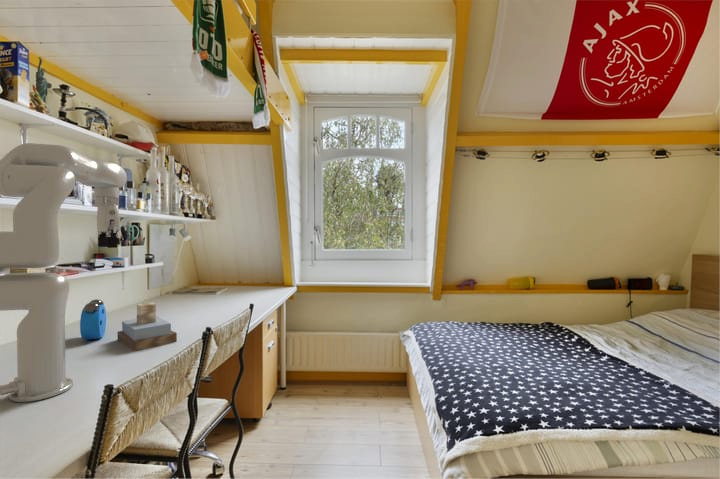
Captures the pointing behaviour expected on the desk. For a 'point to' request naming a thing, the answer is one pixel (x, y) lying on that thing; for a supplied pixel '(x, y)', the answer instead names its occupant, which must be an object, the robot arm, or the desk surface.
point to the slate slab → (146, 329)
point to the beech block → (146, 313)
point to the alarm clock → (93, 320)
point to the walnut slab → (146, 341)
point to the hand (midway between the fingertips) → (107, 247)
